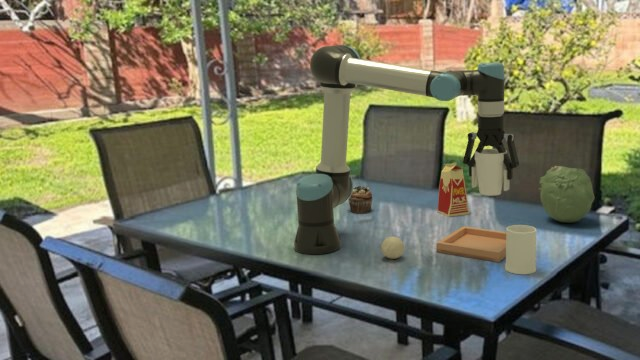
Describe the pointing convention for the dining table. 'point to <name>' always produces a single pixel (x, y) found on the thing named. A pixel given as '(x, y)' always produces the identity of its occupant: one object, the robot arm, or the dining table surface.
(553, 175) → the cabbage
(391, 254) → the beige ball
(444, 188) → the milk carton
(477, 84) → the robot arm
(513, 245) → the mug
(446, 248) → the tray
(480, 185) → the foam cup
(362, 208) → the cupcake
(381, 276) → the dining table surface
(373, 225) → the dining table surface
